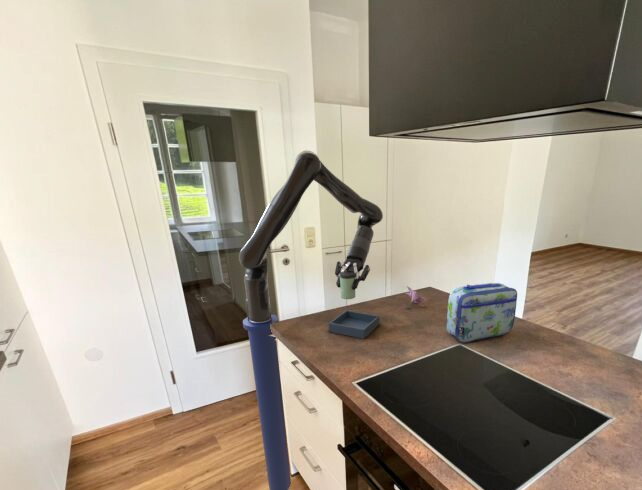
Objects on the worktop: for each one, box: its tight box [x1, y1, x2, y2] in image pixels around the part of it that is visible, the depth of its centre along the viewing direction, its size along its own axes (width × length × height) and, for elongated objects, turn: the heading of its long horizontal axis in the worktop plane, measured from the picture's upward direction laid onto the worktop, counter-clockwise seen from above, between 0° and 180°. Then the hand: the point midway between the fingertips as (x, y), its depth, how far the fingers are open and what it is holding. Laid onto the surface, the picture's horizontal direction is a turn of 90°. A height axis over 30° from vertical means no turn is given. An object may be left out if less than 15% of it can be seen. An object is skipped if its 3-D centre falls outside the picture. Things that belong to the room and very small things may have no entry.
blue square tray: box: [328, 309, 380, 340], centre depth 145 cm, size 15×15×4 cm
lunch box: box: [446, 282, 518, 344], centre depth 137 cm, size 26×11×21 cm, turn 108°
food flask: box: [339, 271, 356, 300], centre depth 138 cm, size 6×6×10 cm
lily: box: [405, 285, 428, 309], centre depth 168 cm, size 12×12×10 cm
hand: (345, 287), depth 137 cm, fingers closed on food flask, 6 cm apart
